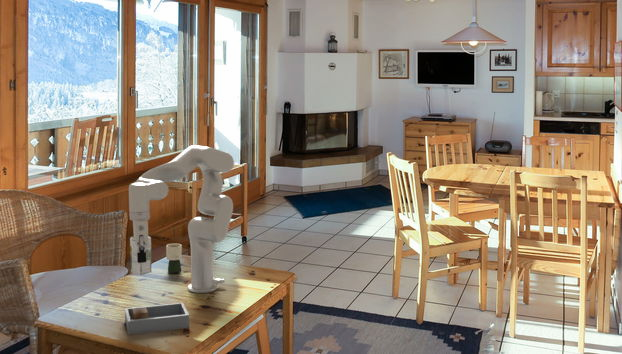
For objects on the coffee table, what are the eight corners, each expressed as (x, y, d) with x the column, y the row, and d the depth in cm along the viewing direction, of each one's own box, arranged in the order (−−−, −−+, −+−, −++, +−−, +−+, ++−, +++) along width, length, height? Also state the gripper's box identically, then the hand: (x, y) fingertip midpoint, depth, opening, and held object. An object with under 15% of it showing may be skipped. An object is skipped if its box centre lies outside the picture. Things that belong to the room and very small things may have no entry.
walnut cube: (146, 320, 268) (146, 307, 267) (148, 325, 263) (147, 312, 262) (133, 321, 266) (132, 309, 265) (134, 326, 261) (133, 313, 261)
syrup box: (142, 269, 280) (140, 233, 277) (152, 272, 276) (151, 236, 274) (130, 273, 275) (129, 236, 273) (140, 275, 272) (139, 239, 269)
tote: (183, 314, 277) (182, 302, 276) (189, 327, 264) (188, 314, 263) (125, 321, 270) (124, 308, 269) (128, 334, 257) (127, 321, 256)
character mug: (186, 274, 328) (185, 247, 326) (171, 276, 324) (171, 249, 322) (177, 268, 337) (176, 241, 335) (163, 270, 333) (162, 243, 331)
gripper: (151, 219, 265) (153, 264, 268) (147, 209, 281) (149, 252, 284) (130, 220, 263) (132, 266, 266) (128, 210, 279) (129, 254, 282)
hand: (141, 259), depth 275 cm, fingers closed on syrup box, 7 cm apart
